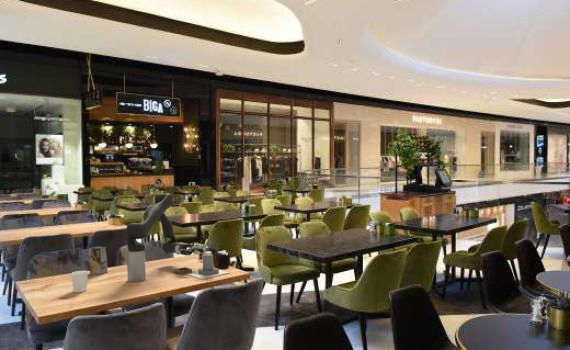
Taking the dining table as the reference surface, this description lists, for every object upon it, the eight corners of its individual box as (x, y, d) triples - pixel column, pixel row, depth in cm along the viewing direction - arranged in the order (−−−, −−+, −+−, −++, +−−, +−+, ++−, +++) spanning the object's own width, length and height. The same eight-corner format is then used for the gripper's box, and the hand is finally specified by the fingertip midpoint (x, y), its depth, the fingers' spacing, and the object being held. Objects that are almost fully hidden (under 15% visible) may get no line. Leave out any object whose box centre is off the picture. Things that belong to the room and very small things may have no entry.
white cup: (83, 288, 258) (82, 269, 258) (90, 290, 253) (90, 271, 253) (69, 291, 252) (68, 272, 252) (76, 293, 247) (75, 274, 247)
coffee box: (108, 272, 296) (107, 246, 295) (101, 274, 290) (100, 248, 289) (95, 271, 298) (95, 246, 298) (89, 273, 292) (88, 248, 292)
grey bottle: (207, 274, 281) (206, 252, 281) (203, 273, 284) (202, 252, 284) (213, 273, 284) (213, 251, 284) (209, 272, 287) (208, 250, 287)
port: (202, 279, 272) (202, 274, 271) (187, 275, 283) (187, 270, 283) (229, 273, 285) (229, 268, 285) (214, 269, 297) (214, 264, 297)
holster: (180, 274, 285) (180, 271, 284) (173, 272, 290) (173, 269, 290) (191, 272, 290) (191, 269, 290) (184, 270, 296) (184, 267, 296)
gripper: (173, 244, 298) (187, 247, 287) (192, 241, 308) (207, 244, 296) (173, 256, 298) (187, 259, 287) (193, 253, 308) (207, 256, 297)
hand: (197, 251), depth 292 cm, fingers open, 8 cm apart
